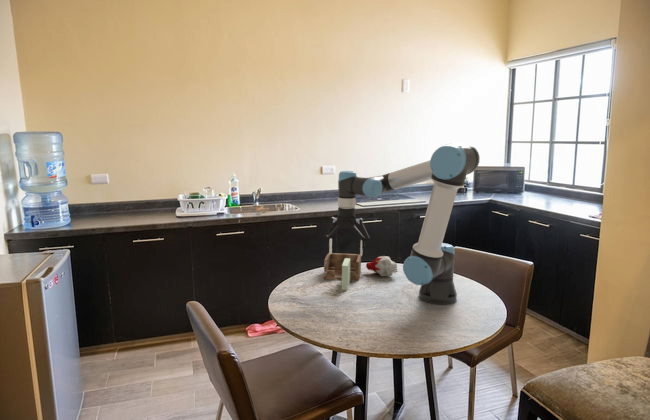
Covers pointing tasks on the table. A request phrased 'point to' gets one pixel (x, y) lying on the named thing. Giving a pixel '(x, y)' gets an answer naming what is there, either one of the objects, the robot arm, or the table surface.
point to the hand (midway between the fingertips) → (345, 254)
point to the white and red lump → (382, 266)
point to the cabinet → (335, 266)
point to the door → (346, 274)
